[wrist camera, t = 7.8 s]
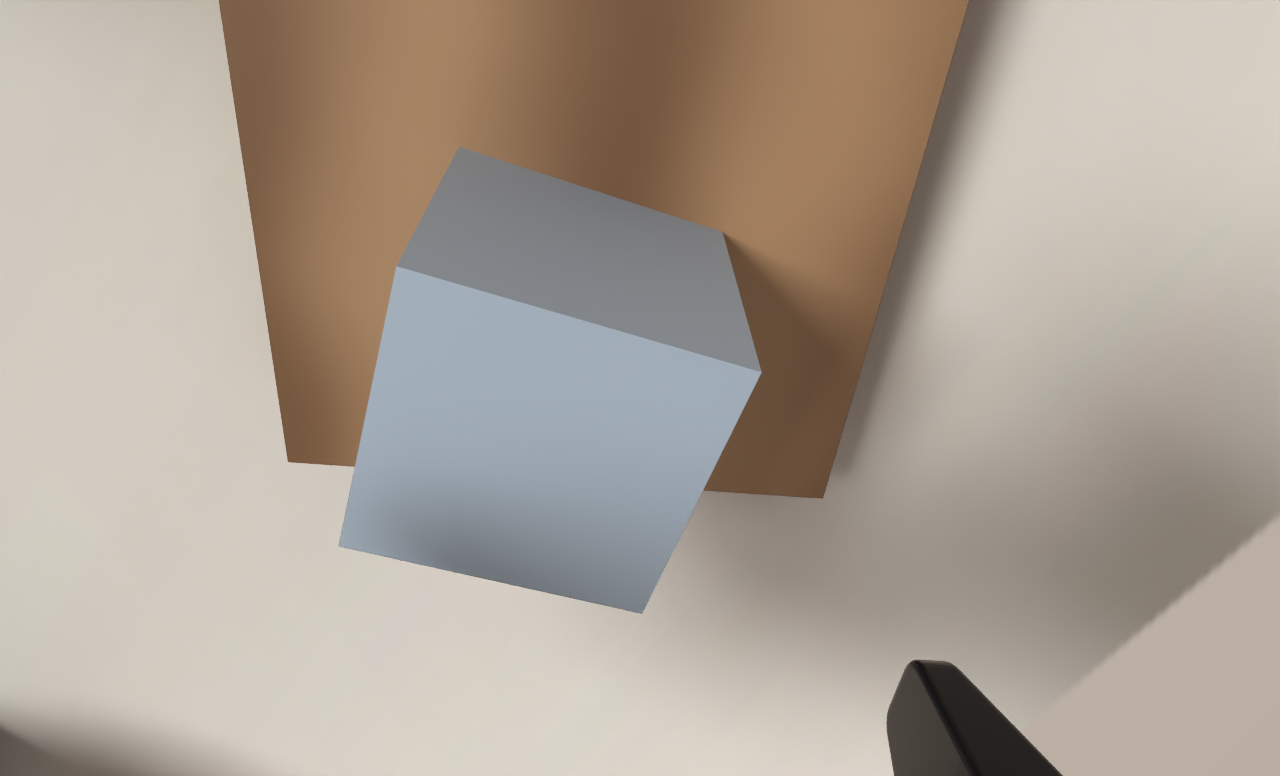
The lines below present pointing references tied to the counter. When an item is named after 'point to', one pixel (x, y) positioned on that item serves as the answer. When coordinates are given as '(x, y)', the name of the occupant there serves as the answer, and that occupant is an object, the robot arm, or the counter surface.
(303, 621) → the counter surface
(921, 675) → the robot arm
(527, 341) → the block
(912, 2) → the base
